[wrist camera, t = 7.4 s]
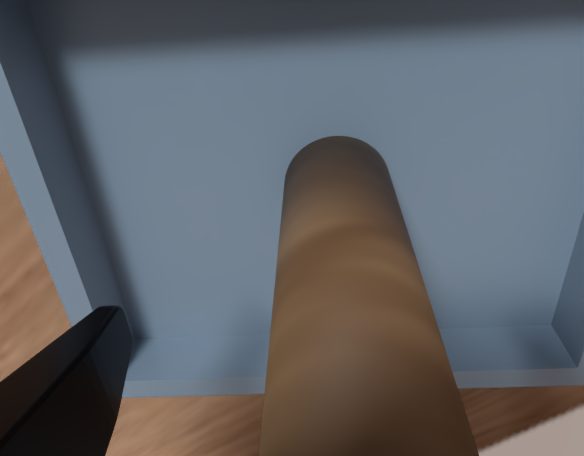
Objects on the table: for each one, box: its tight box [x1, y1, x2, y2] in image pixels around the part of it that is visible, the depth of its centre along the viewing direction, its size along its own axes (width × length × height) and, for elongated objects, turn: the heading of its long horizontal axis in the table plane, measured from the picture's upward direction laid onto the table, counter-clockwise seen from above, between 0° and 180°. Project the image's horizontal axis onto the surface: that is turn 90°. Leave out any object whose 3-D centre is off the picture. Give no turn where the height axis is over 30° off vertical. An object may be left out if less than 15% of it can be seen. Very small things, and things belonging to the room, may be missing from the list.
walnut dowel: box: [259, 136, 479, 456], centre depth 10 cm, size 3×3×9 cm
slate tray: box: [0, 0, 584, 398], centre depth 13 cm, size 16×13×2 cm
